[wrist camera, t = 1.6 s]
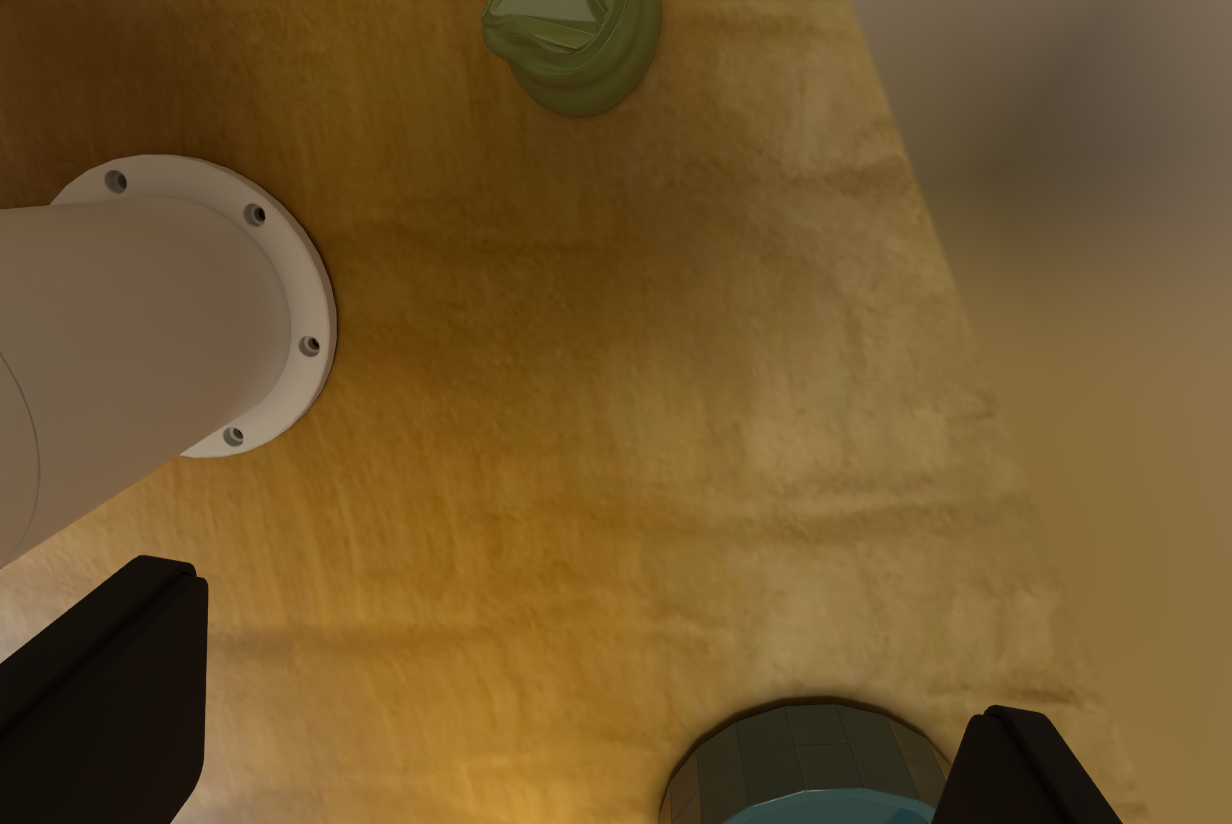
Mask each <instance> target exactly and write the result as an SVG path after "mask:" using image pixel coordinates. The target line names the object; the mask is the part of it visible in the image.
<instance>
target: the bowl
mask: <svg viewBox="0 0 1232 824" xmlns="http://www.w3.org/2000/svg"><path fill="white" fill-rule="evenodd" d="M951 768H952V767H951V766H950V765H949V764H948V763H947V761H946V760H945V759H944V758H943V757H942V756H941V755H940V754H939V752H938V751H937V750H936V749H935V748H934V747H933V746H932V745H931V743H930V742H929V741H928V740H927V739H925V738H924V737H922V736H920V735H918V734H917V733H915V732H913V731H911V730H910V729H908V728H906V727H904V726H903V725H901V724H899V723H897V722H895V721H894V720H892V719H890V718H888V717H887V716H884V715H881V714H877V713H872V712H868V711H863V710H859V709H855V708H850V707H846V706H842V705H835V704H825V705H802V706H785V707H781V708H777V709H774V710H771V711H768V712H765V713H762V714H758V715H755V716H752V717H749V718H746V719H743V720H739V721H737V722H735V723H733V724H732V725H730V726H729V727H727V728H726V729H724V730H723V731H721V732H720V733H718V734H717V735H715V736H714V737H712V738H711V739H709V740H708V741H706V742H705V743H703V744H702V745H700V746H699V747H698V748H697V749H696V750H695V751H694V752H693V754H692V755H691V756H690V758H689V759H688V760H687V761H686V763H685V764H684V765H683V766H682V768H681V769H680V770H679V772H678V773H677V774H676V775H675V777H674V778H673V779H672V780H671V782H670V784H669V787H668V790H667V794H666V797H665V800H664V803H663V806H662V809H661V813H660V816H659V820H658V824H931V822H932V819H933V817H934V814H935V811H936V809H937V806H938V803H939V800H940V798H941V795H942V792H943V790H944V787H945V784H946V782H947V779H948V776H949V774H950V771H951Z"/></svg>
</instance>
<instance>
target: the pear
mask: <svg viewBox="0 0 1232 824" xmlns="http://www.w3.org/2000/svg"><path fill="white" fill-rule="evenodd" d="M481 20H482V23H483V29H482V32H483V39H484V42H485V44H486V46H487V47H488V48H489V49H490V50H491V51H492V52H493V53H494V54H496V55H497V56H499V57H501V58H503V59H505V60H507V61H508V64H509V66H510V68H511V70H512V72H513V74H514V76H515V78H516V79H517V81H518V82H519V84H520V85H521V86H522V88H523V89H524V90H525V91H526V92H527V93H528V94H529V95H530V96H531V97H532V98H533V99H534V100H535V101H536V102H537V103H539V104H540V105H542V106H543V107H545V108H547V109H549V110H551V111H553V112H556V113H559V114H562V115H567V116H575V117H581V116H589V115H594V114H597V113H600V112H603V111H605V110H607V109H609V108H611V107H612V106H614V105H615V104H617V103H618V102H620V101H621V100H622V99H623V98H625V97H626V96H627V95H628V94H629V93H630V92H631V91H632V90H633V89H634V88H635V86H636V85H637V84H638V83H639V81H640V80H641V78H642V77H643V75H644V74H645V72H646V70H647V69H648V67H649V65H650V63H651V60H652V58H653V56H654V53H655V50H656V47H657V44H658V40H659V36H660V31H661V23H662V5H661V0H489V1H488V3H487V5H486V6H485V8H484V10H483V12H482V14H481Z"/></svg>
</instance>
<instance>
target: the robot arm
mask: <svg viewBox="0 0 1232 824" xmlns="http://www.w3.org/2000/svg"><path fill="white" fill-rule="evenodd" d="M125 178H126V182H127V185H126V184H125V180H124V179H125ZM260 208H262V209H263V211H264V212H265V220H263V219H262V218H261V217H260V216H259V210H260ZM313 338H315V339H316V340H317V341H318V343H319V347H316V346H314V344H313V342H312V339H313ZM336 342H337V315H336V307H335V302H334V297H333V292H332V287H331V283H330V280H329V278H328V275H327V273H326V270H325V268H324V265H323V263H322V260H321V258H320V255H319V253H318V252H317V250H316V249H315V247H314V245H313V244H312V242H311V240H310V239H309V237H308V236H307V234H306V232H305V231H304V229H303V228H302V227H301V225H300V224H299V223H298V222H297V221H296V220H295V219H294V217H293V216H292V215H291V214H290V213H289V212H288V211H287V209H286V208H285V207H284V206H283V205H282V204H281V203H280V202H278V201H277V200H276V199H275V198H274V197H272V196H271V195H270V194H269V193H267V192H266V191H265V190H264V189H262V188H261V187H260V186H259V185H258V184H256V183H254V182H252V181H251V180H249V179H247V178H245V177H243V176H242V175H240V174H238V173H236V172H234V171H233V170H231V169H229V168H226V167H223V166H220V165H217V164H214V163H211V162H209V161H206V160H203V159H199V158H192V157H186V156H179V155H172V154H163V155H146V154H143V155H137V156H131V157H125V158H119V159H114V160H112V161H109V162H107V163H104V164H102V165H99V166H97V167H94V168H92V169H90V170H88V171H86V172H85V173H83V174H82V175H81V176H79V177H78V178H76V179H75V180H74V181H72V182H71V183H69V184H68V185H67V186H65V188H64V189H63V190H62V191H61V192H60V193H59V194H58V196H57V197H56V198H55V199H54V200H53V201H52V203H51V204H50V205H47V206H35V207H24V208H13V209H2V210H0V569H2V568H3V567H5V566H6V565H8V564H9V563H11V562H12V561H14V560H16V559H17V558H19V557H20V556H22V555H23V554H25V553H26V552H28V551H30V550H31V549H33V548H34V547H36V546H37V545H39V544H41V543H42V542H44V541H45V540H47V539H48V538H50V537H51V536H53V535H55V534H56V533H58V532H59V531H61V530H62V529H64V528H66V527H67V526H69V525H70V524H72V523H73V522H75V521H76V520H78V519H80V518H81V517H83V516H84V515H86V514H87V513H89V512H91V511H92V510H94V509H95V508H97V507H98V506H100V505H101V504H103V503H105V502H106V501H108V500H109V499H111V498H112V497H114V496H116V495H117V494H119V493H120V492H122V491H123V490H125V489H126V488H128V487H130V486H131V485H133V484H134V483H136V482H137V481H139V480H140V479H142V478H144V477H145V476H147V475H148V474H150V473H151V472H153V471H155V470H156V469H158V468H159V467H161V466H162V465H164V464H165V463H167V462H169V461H170V460H172V459H173V458H175V457H176V456H185V457H192V458H211V457H225V456H230V455H234V454H238V453H242V452H247V451H250V450H252V449H254V448H256V447H258V446H261V445H263V444H265V443H267V442H269V441H271V440H273V439H274V438H276V437H277V436H278V435H280V434H281V433H283V432H284V431H286V430H287V429H288V428H290V427H291V426H292V425H293V424H294V423H295V422H296V421H297V420H298V419H299V418H301V417H302V416H303V415H304V414H305V413H306V412H307V411H308V410H309V408H310V407H311V405H312V404H313V403H314V401H315V400H316V398H317V397H318V395H319V394H320V392H321V391H322V389H323V387H324V384H325V382H326V379H327V377H328V375H329V372H330V370H331V367H332V363H333V358H334V353H335V347H336ZM239 430H240V432H241V433H242V434H243V435H242V434H241V433H240V432H239ZM207 627H208V584H207V581H206V580H205V579H204V578H201V577H197V576H196V570H195V568H194V566H193V565H192V564H190V563H187V562H182V561H176V560H170V559H165V558H159V557H153V556H148V555H139V556H138V557H136V558H134V559H132V560H131V561H130V562H129V563H127V564H126V565H125V566H124V567H122V568H121V569H120V570H119V571H117V572H116V573H115V574H113V575H112V576H111V577H110V578H108V579H107V580H106V581H105V582H103V583H102V584H101V585H100V586H98V587H97V588H96V589H94V590H93V591H92V592H91V593H89V594H88V595H87V596H86V597H84V598H83V599H82V600H81V601H79V602H78V603H77V604H75V605H74V606H73V607H72V608H70V609H69V610H68V611H67V612H65V613H64V614H63V615H61V616H60V617H59V618H58V619H56V620H55V621H54V622H53V623H51V624H50V625H49V626H48V627H46V628H45V629H44V630H42V631H41V632H40V633H39V634H37V635H36V636H35V637H34V638H32V639H31V640H30V641H29V642H27V643H26V644H25V645H23V646H22V647H21V648H20V649H18V650H17V651H16V652H15V653H13V654H12V655H11V656H10V657H8V658H7V659H6V660H4V661H3V662H2V663H1V664H0V824H170V823H171V822H172V820H173V819H174V817H175V816H176V815H177V813H178V812H179V810H180V809H181V808H182V806H183V805H184V803H185V802H186V801H187V799H188V798H189V796H190V795H191V793H192V792H193V790H194V789H195V787H196V784H197V782H198V780H199V777H200V775H201V772H202V767H203V763H204V742H205V704H206V666H207ZM931 824H1123V823H1122V822H1121V821H1120V819H1119V818H1118V816H1117V815H1116V814H1115V812H1114V811H1113V809H1112V808H1111V806H1110V805H1109V804H1108V802H1107V801H1106V799H1105V798H1104V796H1103V795H1102V794H1101V792H1100V791H1099V789H1098V788H1097V787H1096V785H1095V784H1094V782H1093V781H1092V779H1091V778H1090V777H1089V775H1088V774H1087V772H1086V771H1085V770H1084V768H1083V767H1082V765H1081V764H1080V762H1079V761H1078V760H1077V758H1076V757H1075V755H1074V754H1073V753H1072V751H1071V750H1070V748H1069V747H1068V745H1067V744H1066V743H1065V741H1064V740H1063V738H1062V737H1061V735H1060V734H1059V733H1058V731H1057V730H1056V728H1055V727H1054V726H1053V724H1052V723H1051V721H1050V720H1049V719H1048V718H1047V717H1046V716H1045V715H1044V714H1041V713H1039V712H1034V711H1028V710H1022V709H1017V708H1011V707H1005V706H1000V705H993V706H990V707H989V708H988V709H987V710H986V711H985V712H984V714H983V715H980V714H977V715H974V716H973V717H972V718H971V719H970V721H969V723H968V725H967V728H966V731H965V733H964V736H963V739H962V741H961V744H960V747H959V749H958V752H957V755H956V757H955V760H954V763H953V766H952V768H951V771H950V774H949V776H948V779H947V782H946V784H945V787H944V790H943V792H942V795H941V798H940V800H939V803H938V806H937V809H936V811H935V814H934V817H933V819H932V822H931Z"/></svg>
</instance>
